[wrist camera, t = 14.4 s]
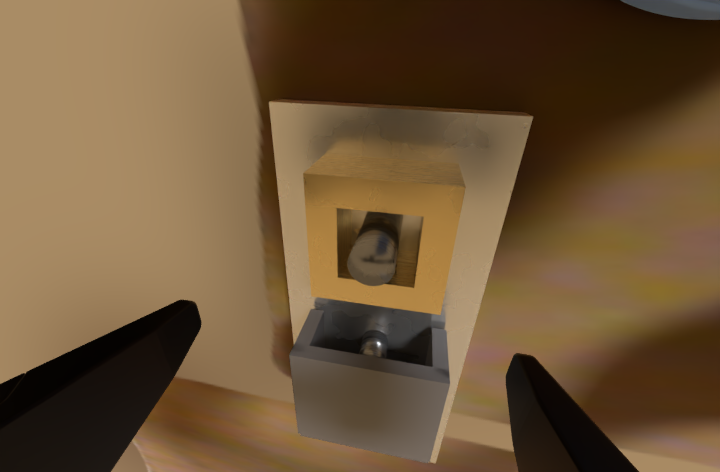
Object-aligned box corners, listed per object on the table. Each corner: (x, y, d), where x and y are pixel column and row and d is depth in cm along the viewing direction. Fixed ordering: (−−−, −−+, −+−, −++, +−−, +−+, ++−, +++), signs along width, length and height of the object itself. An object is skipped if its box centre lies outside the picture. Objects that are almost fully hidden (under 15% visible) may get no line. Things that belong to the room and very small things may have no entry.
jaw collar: (458, 163, 14) (465, 187, 11) (438, 275, 17) (440, 315, 14) (325, 153, 15) (303, 173, 12) (328, 261, 18) (311, 296, 15)
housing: (446, 329, 18) (450, 384, 15) (427, 412, 22) (427, 469, 19) (311, 308, 19) (289, 355, 16) (316, 390, 23) (299, 440, 20)
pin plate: (525, 112, 13) (580, 140, 9) (435, 447, 26) (437, 534, 21) (279, 99, 15) (209, 116, 10) (307, 420, 28) (282, 496, 23)
